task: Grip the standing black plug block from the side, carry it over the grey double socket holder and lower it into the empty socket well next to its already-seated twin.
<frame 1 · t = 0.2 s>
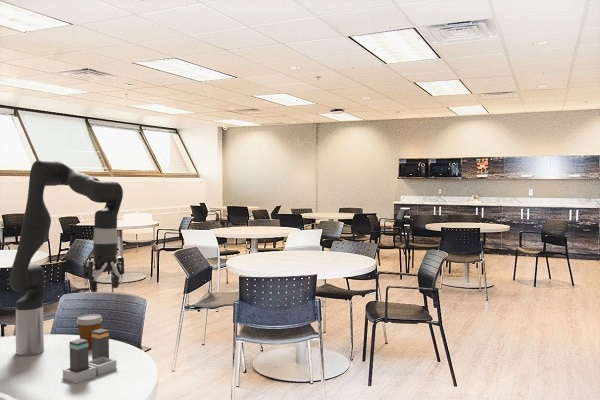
hand: (104, 289, 178), 29 cm above the table, tool pointing down, fingers open, 8 cm apart
disposable coffee cup: (90, 347, 209), on the table
grey double socket holder: (90, 377, 177), on the table
plug: (100, 364, 189), on the table
twin plug: (79, 377, 173), point 1 cm above the table, touching grey double socket holder
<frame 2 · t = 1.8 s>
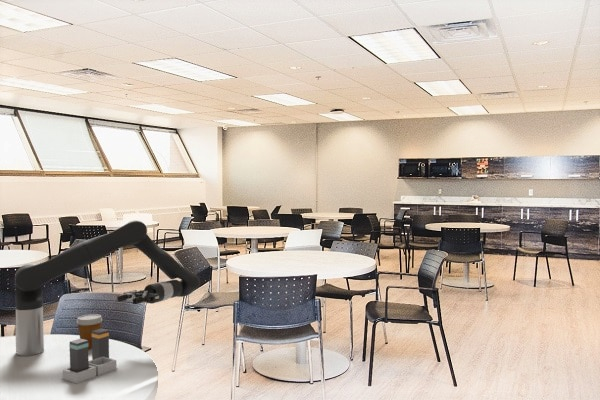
hand: (125, 300, 198), 21 cm above the table, tool horizontal, fingers open, 8 cm apart
nothing on the table moved.
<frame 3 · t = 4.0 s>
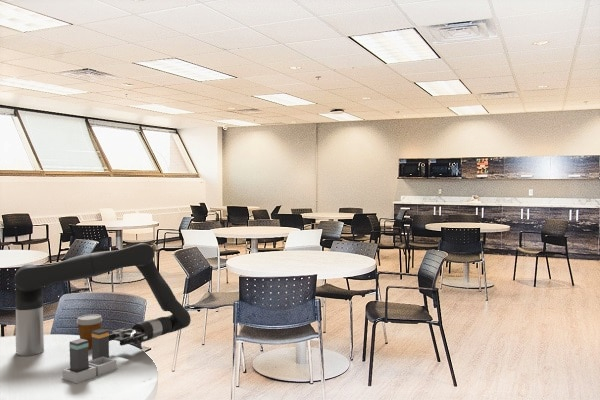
hand: (112, 340, 194), 7 cm above the table, tool horizontal, fingers open, 8 cm apart
nothing on the table moved.
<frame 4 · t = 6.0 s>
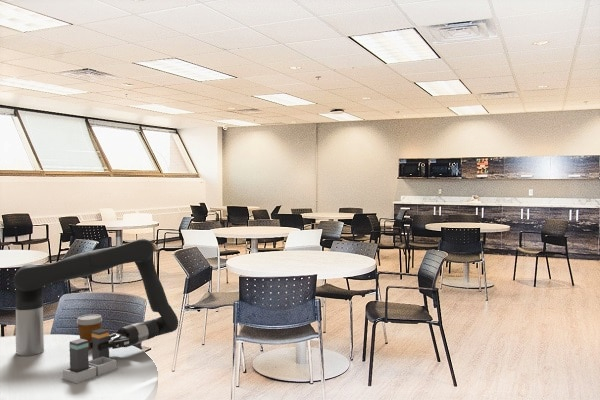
hand: (93, 346, 187), 7 cm above the table, tool horizontal, fingers closed on plug, 4 cm apart
plug: (100, 364, 189), on the table, touching gripper
everything else where it was.
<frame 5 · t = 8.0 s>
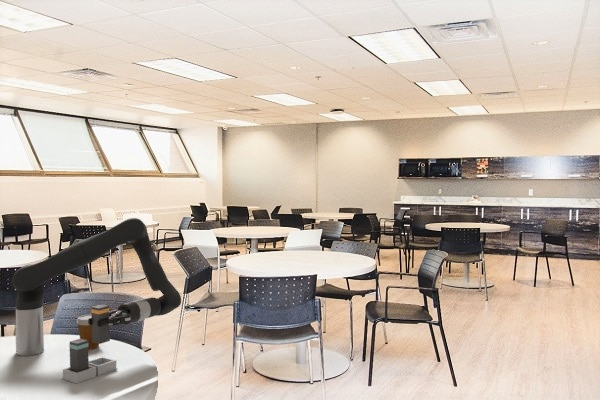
hand: (93, 322, 177), 18 cm above the table, tool horizontal, fingers closed on plug, 4 cm apart
plug: (101, 341, 180), point 11 cm above the table, touching gripper
everything else where it was.
when the fingers open (10 cm above the table, at t = 9.9 s): plug drops 1 cm, resting on grey double socket holder.
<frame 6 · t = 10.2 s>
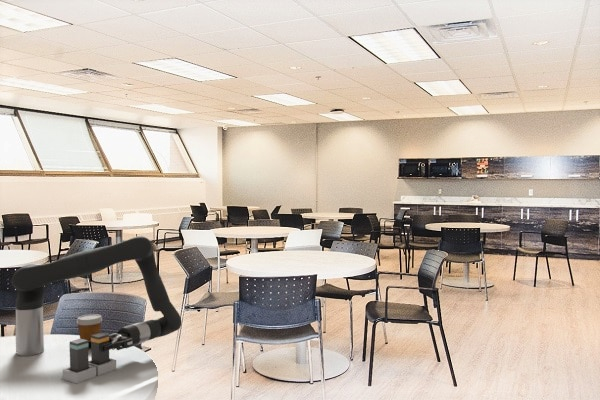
hand: (94, 346, 178), 10 cm above the table, tool horizontal, fingers open, 6 cm apart
plug: (100, 369, 180), point 1 cm above the table, touching grey double socket holder
everything else where it was.
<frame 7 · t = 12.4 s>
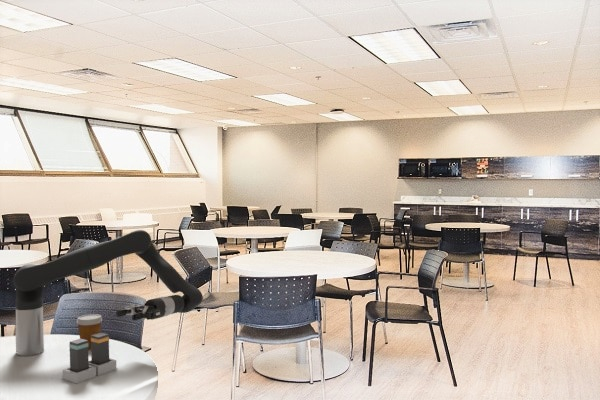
hand: (124, 315, 189), 17 cm above the table, tool horizontal, fingers open, 8 cm apart
nothing on the table moved.
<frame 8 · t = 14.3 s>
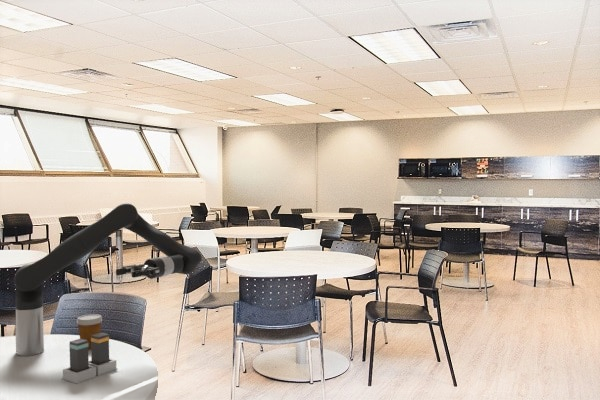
hand: (124, 273, 190), 32 cm above the table, tool horizontal, fingers open, 8 cm apart
nothing on the table moved.
at the end: plug 0.1 cm from the target spot on the grey double socket holder, point 1.2 cm above the grey double socket holder's base; plug tilted 0°; the gripper is holding nothing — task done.
